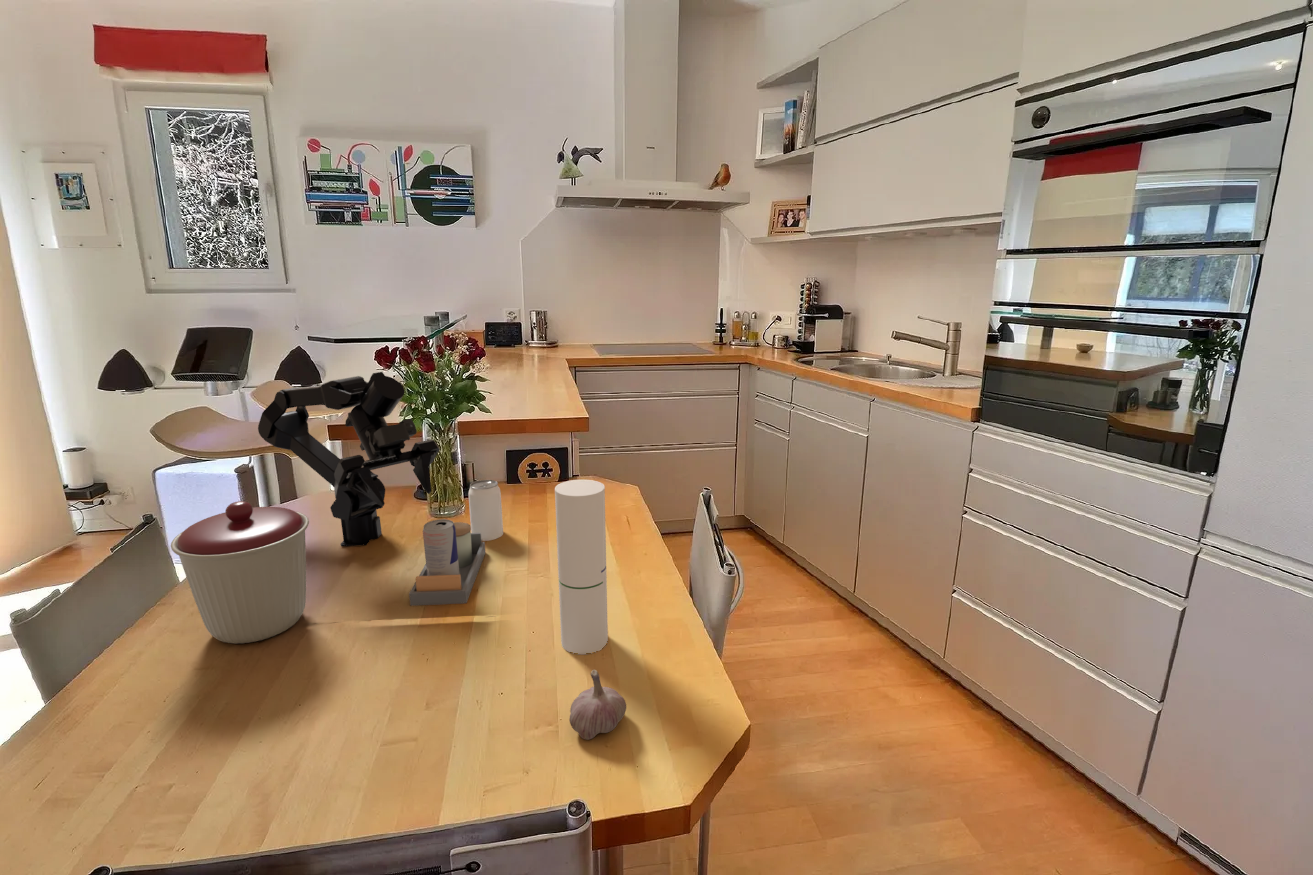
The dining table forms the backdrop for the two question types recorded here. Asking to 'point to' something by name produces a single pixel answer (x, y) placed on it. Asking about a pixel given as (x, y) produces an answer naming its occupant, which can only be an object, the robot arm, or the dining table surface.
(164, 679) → the dining table surface
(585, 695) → the garlic bulb
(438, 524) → the energy drink
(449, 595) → the grey rectangular tray
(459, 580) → the bar
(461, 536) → the sage jar
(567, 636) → the cylindrical container
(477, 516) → the can
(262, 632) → the canister
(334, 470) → the robot arm
